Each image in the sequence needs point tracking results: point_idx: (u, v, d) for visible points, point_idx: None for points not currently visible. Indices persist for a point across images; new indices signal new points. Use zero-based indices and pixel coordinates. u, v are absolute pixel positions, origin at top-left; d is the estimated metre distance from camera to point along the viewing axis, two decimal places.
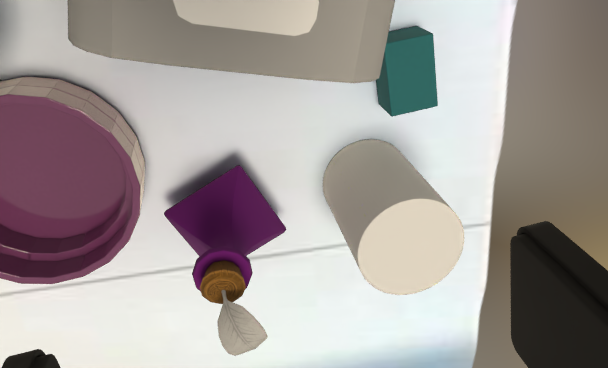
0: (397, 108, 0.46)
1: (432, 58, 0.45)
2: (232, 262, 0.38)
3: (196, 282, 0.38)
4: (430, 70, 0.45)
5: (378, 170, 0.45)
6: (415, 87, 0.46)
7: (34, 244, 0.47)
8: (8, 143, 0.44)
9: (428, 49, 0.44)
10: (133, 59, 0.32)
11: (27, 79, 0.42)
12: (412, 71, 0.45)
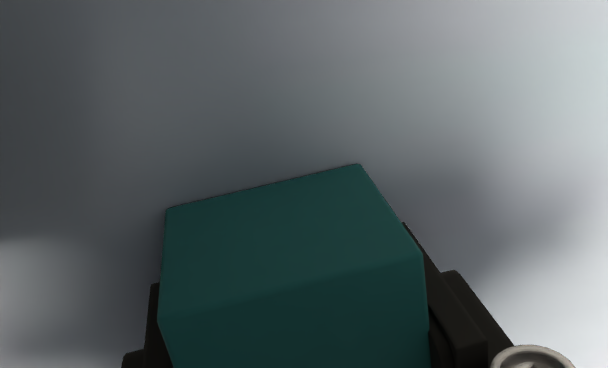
0: None
1: (421, 354, 0.09)
2: None
3: None
4: None
5: None
6: None
7: None
8: None
9: (401, 322, 0.09)
10: None
11: None
12: None
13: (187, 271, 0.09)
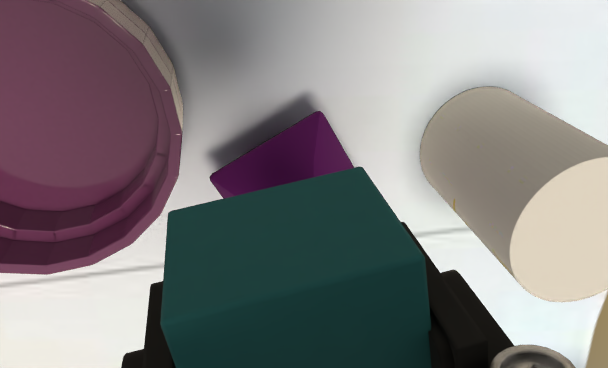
0: None
1: (423, 357, 0.09)
2: None
3: None
4: None
5: (524, 121, 0.31)
6: None
7: (22, 217, 0.33)
8: None
9: (404, 326, 0.09)
10: None
11: None
12: None
13: (190, 275, 0.09)
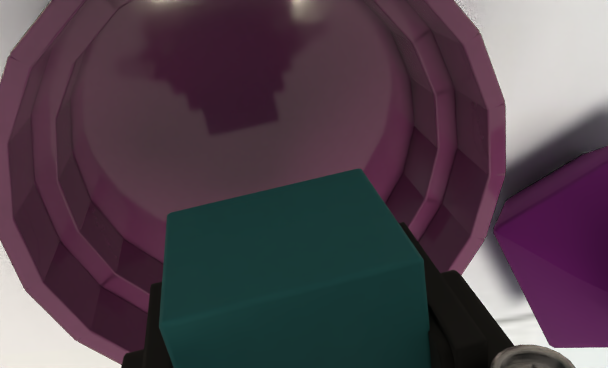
0: None
1: (422, 359, 0.09)
2: None
3: None
4: None
5: None
6: None
7: None
8: (179, 75, 0.20)
9: (402, 328, 0.09)
10: None
11: None
12: None
13: (189, 277, 0.09)
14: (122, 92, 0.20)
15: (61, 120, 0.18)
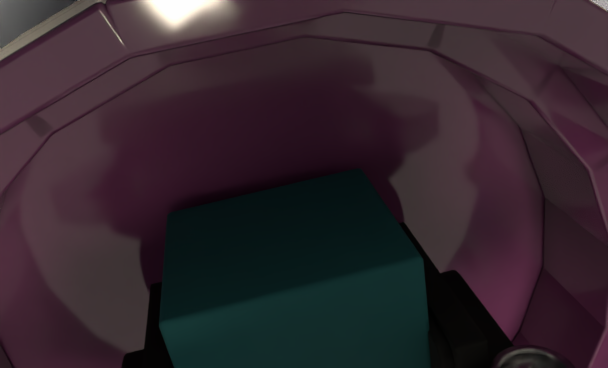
0: None
1: (421, 359, 0.09)
2: None
3: None
4: None
5: None
6: None
7: None
8: (172, 211, 0.12)
9: (402, 327, 0.09)
10: None
11: None
12: None
13: (188, 276, 0.09)
14: (77, 241, 0.12)
15: None
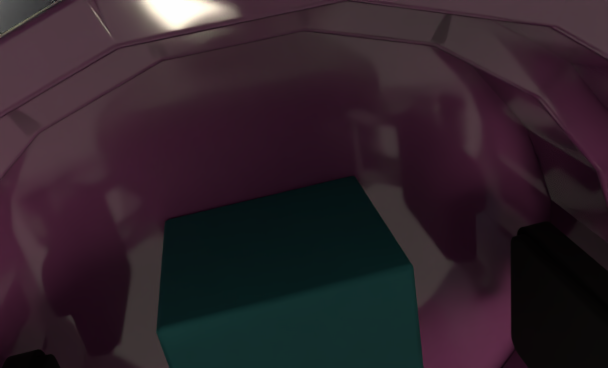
0: None
1: (413, 363, 0.09)
2: None
3: None
4: None
5: None
6: None
7: None
8: (168, 213, 0.11)
9: (393, 332, 0.09)
10: None
11: None
12: None
13: (186, 283, 0.09)
14: (68, 244, 0.11)
15: None
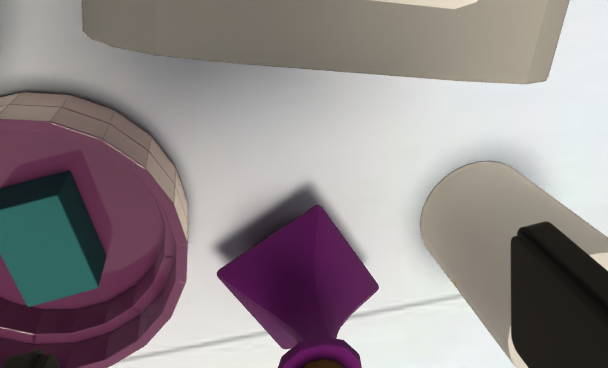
0: (33, 296, 0.31)
1: (67, 228, 0.30)
2: (336, 361, 0.25)
3: None
4: (70, 244, 0.30)
5: (518, 208, 0.32)
6: (53, 268, 0.31)
7: (41, 320, 0.35)
8: (1, 185, 0.32)
9: (57, 217, 0.30)
10: (190, 56, 0.20)
11: (24, 96, 0.30)
12: (40, 247, 0.30)
13: None
14: None
15: None
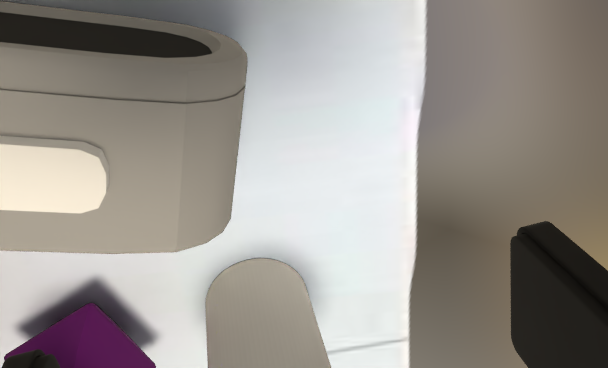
0: None
1: None
2: None
3: None
4: None
5: (249, 314, 0.38)
6: None
7: None
8: None
9: None
10: None
11: None
12: None
13: None
14: None
15: None
